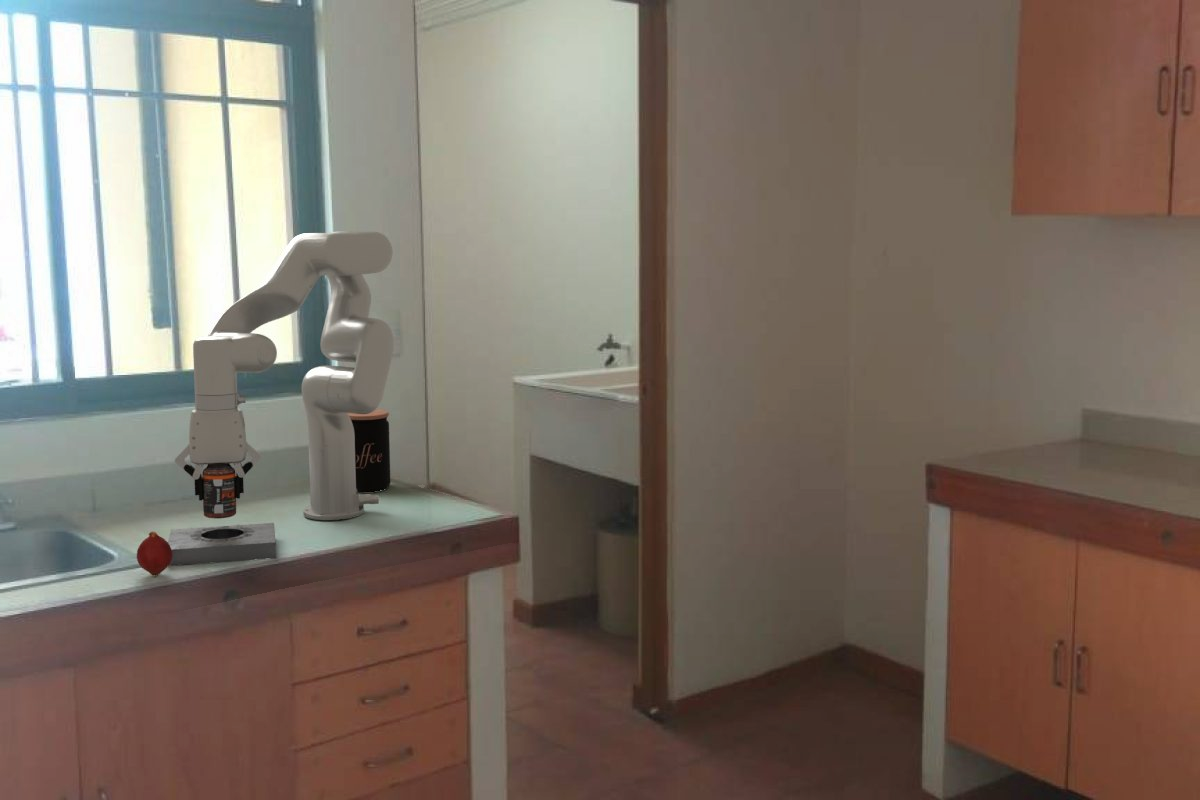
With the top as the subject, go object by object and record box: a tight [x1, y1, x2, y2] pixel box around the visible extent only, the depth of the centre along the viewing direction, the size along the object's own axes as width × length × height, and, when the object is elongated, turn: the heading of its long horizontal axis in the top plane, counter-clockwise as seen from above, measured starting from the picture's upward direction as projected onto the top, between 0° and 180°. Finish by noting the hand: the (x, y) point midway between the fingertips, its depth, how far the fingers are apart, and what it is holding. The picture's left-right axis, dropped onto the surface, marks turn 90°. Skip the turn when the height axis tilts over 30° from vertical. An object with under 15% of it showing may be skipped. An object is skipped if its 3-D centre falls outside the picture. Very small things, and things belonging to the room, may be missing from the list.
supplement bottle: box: [201, 463, 237, 519], centre depth 221 cm, size 6×6×11 cm
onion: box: [136, 530, 172, 577], centre depth 206 cm, size 6×6×8 cm
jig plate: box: [167, 522, 277, 567], centre depth 222 cm, size 19×15×3 cm
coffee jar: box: [348, 408, 391, 493], centre depth 274 cm, size 11×11×18 cm
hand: (219, 497), depth 222 cm, fingers closed on supplement bottle, 5 cm apart
